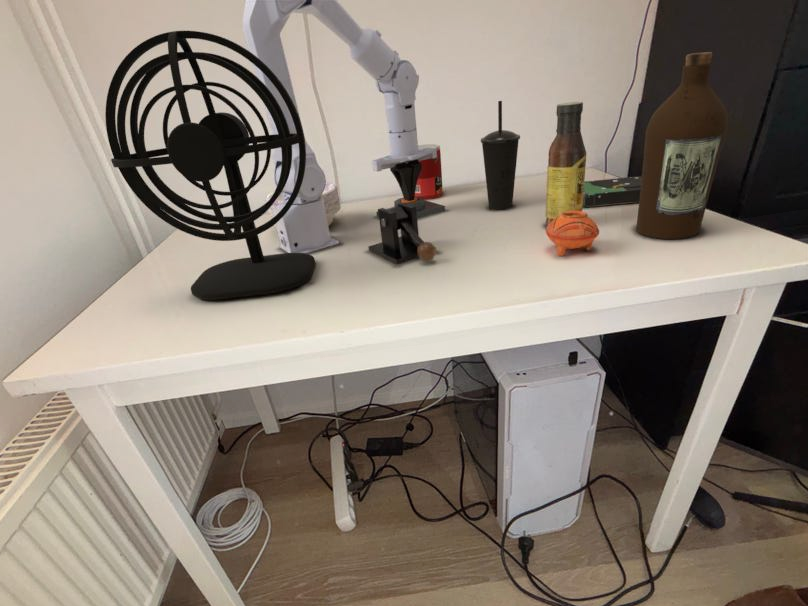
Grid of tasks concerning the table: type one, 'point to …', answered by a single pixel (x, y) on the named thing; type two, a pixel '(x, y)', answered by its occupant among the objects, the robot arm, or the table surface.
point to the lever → (414, 236)
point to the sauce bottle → (566, 163)
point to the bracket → (396, 236)
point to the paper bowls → (329, 200)
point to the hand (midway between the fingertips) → (409, 199)
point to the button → (409, 201)
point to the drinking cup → (500, 165)
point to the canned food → (430, 175)
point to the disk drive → (612, 191)
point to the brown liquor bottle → (682, 155)
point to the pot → (572, 231)
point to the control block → (421, 207)
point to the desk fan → (211, 162)
